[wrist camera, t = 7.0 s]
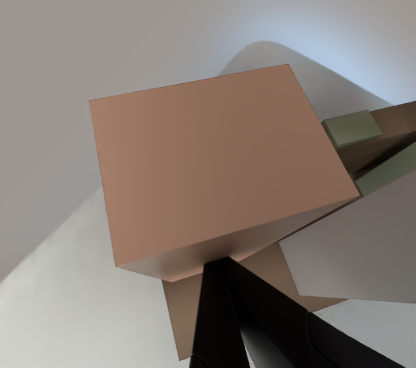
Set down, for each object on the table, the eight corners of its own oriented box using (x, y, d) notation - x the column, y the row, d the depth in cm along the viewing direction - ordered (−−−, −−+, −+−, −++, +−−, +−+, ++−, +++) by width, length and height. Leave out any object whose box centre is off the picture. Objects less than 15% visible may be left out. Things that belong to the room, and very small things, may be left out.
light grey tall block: (362, 273, 15) (762, 239, 4) (299, 295, 14) (595, 315, 4) (337, 223, 16) (614, 102, 5) (278, 241, 15) (464, 143, 5)
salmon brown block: (240, 260, 14) (359, 195, 4) (171, 282, 14) (115, 266, 4) (224, 211, 15) (288, 63, 5) (159, 229, 15) (88, 100, 5)
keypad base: (452, 257, 16) (601, 240, 10) (180, 356, 13) (171, 409, 8) (383, 145, 19) (468, 83, 13) (147, 207, 16) (122, 161, 10)
